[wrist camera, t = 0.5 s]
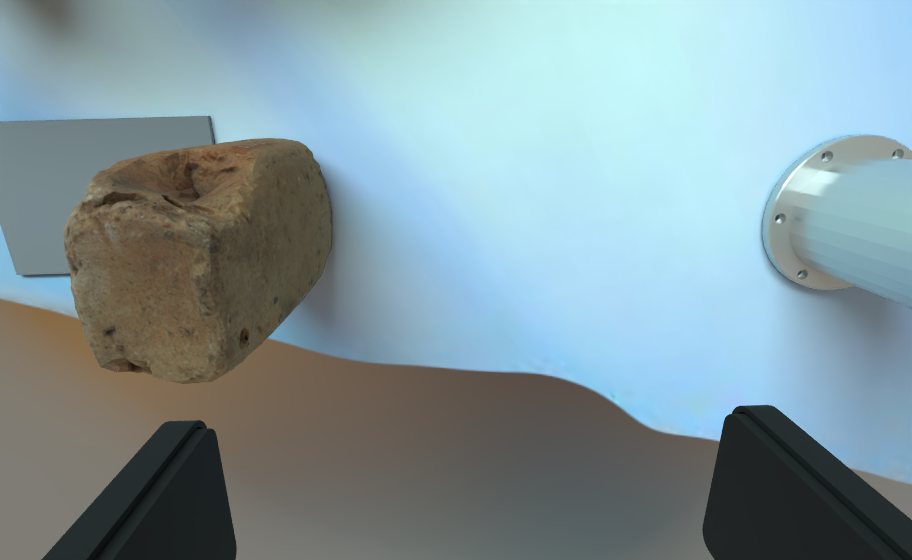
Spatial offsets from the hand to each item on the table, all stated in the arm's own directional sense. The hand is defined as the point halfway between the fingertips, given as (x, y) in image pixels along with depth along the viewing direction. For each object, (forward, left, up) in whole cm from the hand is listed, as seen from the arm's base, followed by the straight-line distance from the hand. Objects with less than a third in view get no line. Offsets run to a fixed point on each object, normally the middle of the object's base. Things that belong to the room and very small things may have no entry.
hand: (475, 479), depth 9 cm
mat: (+27, -1, -32) cm, 42 cm away
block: (+13, 0, -32) cm, 35 cm away
